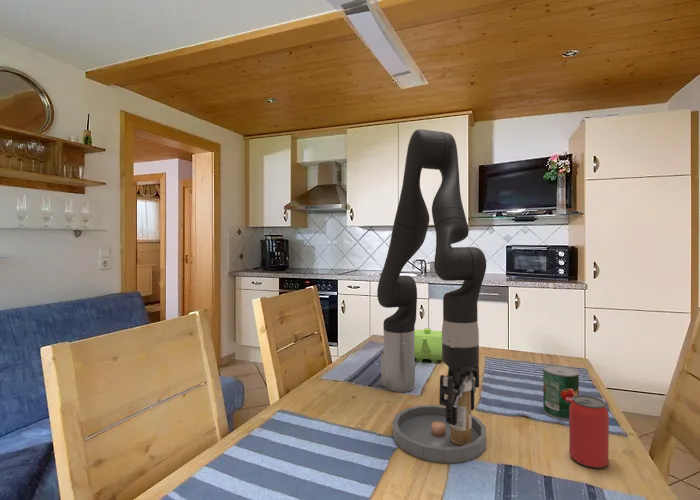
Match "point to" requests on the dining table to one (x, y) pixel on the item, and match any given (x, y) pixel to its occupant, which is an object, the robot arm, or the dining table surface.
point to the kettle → (428, 345)
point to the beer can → (589, 431)
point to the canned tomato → (559, 390)
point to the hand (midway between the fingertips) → (460, 416)
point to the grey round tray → (435, 435)
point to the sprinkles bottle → (463, 418)
